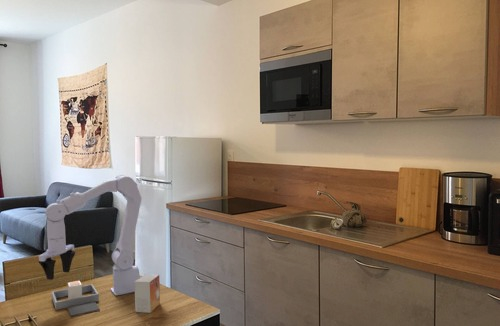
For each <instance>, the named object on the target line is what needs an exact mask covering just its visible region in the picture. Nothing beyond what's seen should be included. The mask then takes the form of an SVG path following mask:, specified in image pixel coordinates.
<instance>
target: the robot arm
mask: <svg viewBox="0 0 500 326" xmlns="http://www.w3.org/2000/svg"><path fill="white" fill-rule="evenodd" d="M138 187H139V186H138V183H137V182H136V181H135V180H134V179H133V178H132V177H130V176H126V175H123V174H119V175H117V176H115V177H111V178H109V179H107V180H105V181H102V182H101V183H99V184H97V185H95V186H93V187H92V188H90V189H87V190H86V191H85V192H79V191H76V192H75V193H74V192H71V193H69V195H68V196H66V197H64V198H62V199H57V200H56V202H57V203H56V202H53V203H50V204H49V205H48V206H47V207H46V209H45V211H44V213H45V216H46V217H47V218H46V224H47V225H46V234H47V235H46V237H47V249H46V251H45V252H43V253H42V254H40V255H39V254H38V263H39V265H40V266H41V268H42V270H43V271H44V273H45V276H46V279H47V280H51V281H52V280H54V279H55V278H54V277H55V266H56V261H57V260H55V259H54V260H53V259H52V258H55V257H58V256H59V257H60V259H61V265H62V266H61V267H62V272H63V273H70V270H71V265H72V262H73V259H74V257H75V256H76V251H75V245H74V244H67V243H66V225H65V219H64V218H65V217H66V215H68V216H69V215H70V214H72V213H73V212H76V211H78V210H80V209H83V208H84V207H85V206H86V204H87V202H88V201H90V200H92V199H95V198H96V197H99V196H101V195H103V194H105V193H107V192H109V193H120V194H121V195H122V196H123V197H124V199H125V200H126V205H125V211H124V215H123V220H122V225H121V230H120V234H119V237H118V238H119V240H118V242H117V243H116V244H115V249H114V250H113V251H112V253H111V260H112V262H113V263H114V264H113V266H112V283H113V287H111V288H110V291H111V292H112V293H113V294H114V296H121V295H126V294H130V293H135V281H137V280H138V279H139V278H141V277H140V270H139V267H138V265H134V262H135V259H134V255H133V253H134V247H133V242H134V238H135V231H136V227H137V223H138V219H139V213H140V209H141V205H142V204H141V203H142V195H141V193H140V190H139V188H138Z"/></svg>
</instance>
